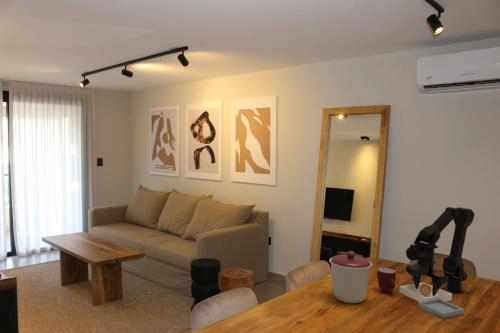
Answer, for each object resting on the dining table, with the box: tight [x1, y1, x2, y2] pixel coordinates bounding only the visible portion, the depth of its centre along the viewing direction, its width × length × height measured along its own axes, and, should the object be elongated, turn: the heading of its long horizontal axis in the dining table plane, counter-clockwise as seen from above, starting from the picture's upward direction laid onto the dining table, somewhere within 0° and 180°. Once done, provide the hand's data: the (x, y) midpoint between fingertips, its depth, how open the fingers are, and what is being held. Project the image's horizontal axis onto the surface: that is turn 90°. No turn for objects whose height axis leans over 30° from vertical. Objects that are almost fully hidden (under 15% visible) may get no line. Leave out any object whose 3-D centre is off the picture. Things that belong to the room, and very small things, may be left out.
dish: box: [398, 282, 453, 302], centre depth 175 cm, size 15×15×3 cm
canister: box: [329, 250, 373, 304], centre depth 169 cm, size 18×18×21 cm
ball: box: [419, 283, 431, 296], centre depth 175 cm, size 5×5×5 cm
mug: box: [376, 267, 397, 294], centre depth 178 cm, size 10×8×10 cm
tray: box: [417, 298, 465, 320], centre depth 159 cm, size 12×12×2 cm
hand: (425, 292), depth 175 cm, fingers open, 9 cm apart
